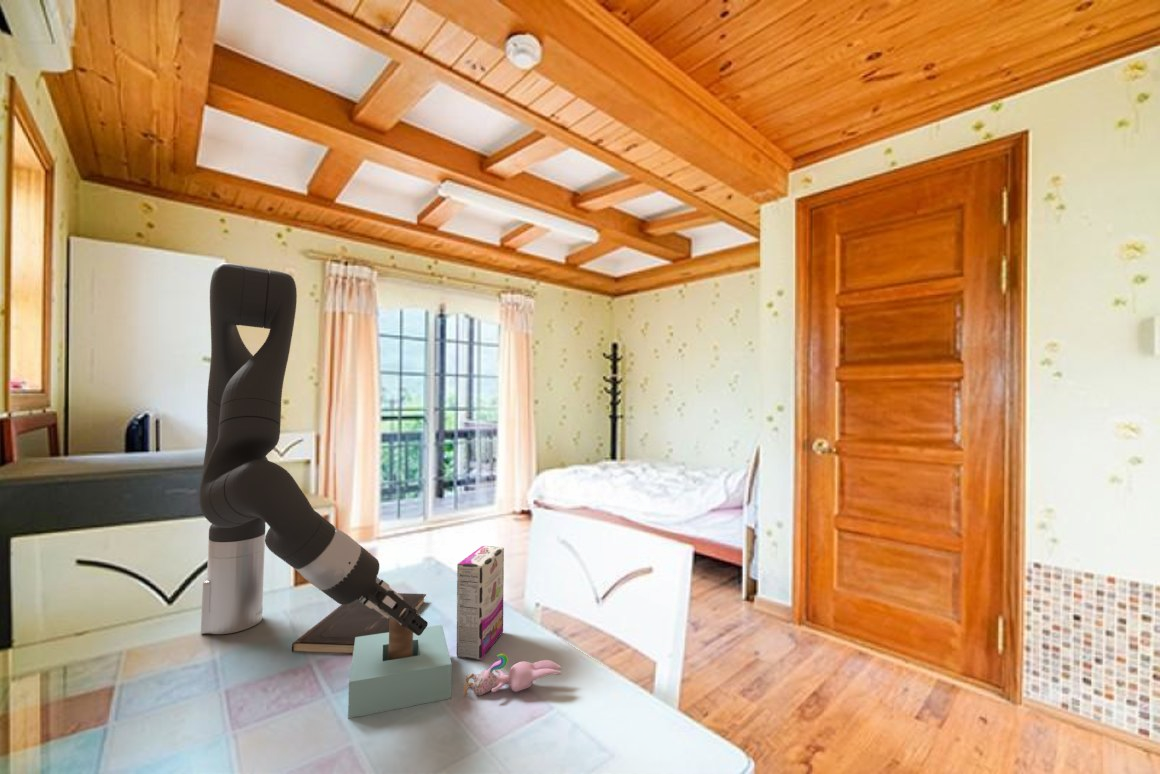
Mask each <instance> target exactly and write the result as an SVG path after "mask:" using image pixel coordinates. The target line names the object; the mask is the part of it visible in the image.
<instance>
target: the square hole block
mask: <svg viewBox="0 0 1160 774" xmlns="http://www.w3.org/2000/svg"><path fill="white" fill-rule="evenodd" d="M388 654H389V632H388V633H381V634H374V635H367V636H360V637H355V643H354V651H353V653H352V660H351V665H350V673H349V679H348V701H347V702H348V706H347V707H348V708H347V719H352V718H357V717H362V716H368V715H373V714H377V713H382V712H387V711H392V710H397V709H402V708H408V707H414V706H418V705H422V704H427V703H429V704H430V703H434V702H439V701H444V700H448V699H451V698H452V667H453V665H452V660H451V655H450V651H449V649H448V644H447V639H446V634H445V630H444V627H443V624H438V625H430V626H427V627H426V628H425V630H424V631H423V632H422V634H421V635H419V636H418V635H416V634H415V633H413V657H406V658H400V659H394V660H388Z"/></svg>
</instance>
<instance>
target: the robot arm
mask: <svg viewBox="0 0 1160 774" xmlns="http://www.w3.org/2000/svg"><path fill="white" fill-rule="evenodd" d="M297 297H298V295H297V284H296V281H295V279H294V277H293V276H291V275H290V274H288V273H285V272H283V271H282V272H281V271H278V270H273V269H268V268H262V267H257V266H252V265H245V264H238V263H230V262H222V263H220V264H217V265H216V267H214V270H213V272H212V275H211V278H210V286H209V314H210V315H209V317H210V320H209V321H210V346H211V348H210V349H211V350H210V352H211V353H210V365H209V375H208V386H207V400H206V422H207V423H206V426H207V427H206V445H205V451H204V458H203V464H202V471H201V472H202V473H201V483H200V486H199V493H198V495H199V496H198V501H199V506H200V509H201V512H202V514H203V516H204V518H205V519H206V520H207V521H208V522H209V523H210V525H209V526H210V527H209V529H208V544H207V547H208V548H207V549H208V550H207V569H206V571H207V573H206V579H205V580H204V581H203V583H202V592H201V593H202V597H201V598H202V599H201V619H200V620H201V621H200V634H204V635H205V634H210V635H228V634H233V633H237V632H238V633H239V632H241V631H245V630H248V629H250V628H254V626H256V625H258V624H259V623H261V621H262V620H263V610H264V609H263V602H264V600H263V599H264V580H265V579H264V575H265V573H264V572H265V571H264V570H265V550H266V549H265V548H267V549H268V550H269V551H270V552H271V553H273V555H275V556H277V557H278V558H279V559H281V560H282V561H283V562H285V563H286V564H287V565H289V566H290V567H291V568H293V569H294V570H295V571H297V573H298V574H299V575H301V577H302V578H303V579H304V580H306V581H308V583H310V584H311V585H312V586H314V587H315V588H317V589H318V590H319V591H321V592H322V593H323V594H325V595H326V596H328V597H329V598H331V600H333V601H334V602H336V603H338V604H339V605H346V604H350V603H352V602H354V601H356V600H359V601H360V602H362V603H363V604H365V605H366V606H367V607H369V608H370V609H375V610H376V611H377V612H379V613H380V614H382V615H383V616H384V617H386V618H391V617H392V618H394V619H395V620H396V621H398V622H399V624H400V625H402V626H403V627H404V626H405V627H407V628H408V629H410V630H411V631H412V632H413V633H415V634H416V635H418V636H419V635H421V634H422V632H423V631H424V630H425V628H426V627H428V624H429V623H428V621H427V620H426V619H424V618H423V617H422V616H421V615H419V614H418V610H417V611H416V609H415V608H412V607H411V606H410V605H408V604H407V603H406V602H404V601H403V597H402V596H401V595H399V594H398V593H399V592H396V591H395V590H394V589H393V588H391V587H390V584H389V583H388V582H387V581H385V580H384V579H380V578H379V577H378V575H379V572H380V562H379V559H377V558H376V557H375V556H374V555H373V554H371V553H370V552H369V551H368V550H367V549H365V548H364V547H363V546H362V545H360V544H359V543H358V542H357V541H356V540H355V539H353V538H352V537H351V536H350V535H349V534H347V533H346V532H344V531H342V530H340V529H339V528H337V527H336V526H335V525H333V523H331V522H330V521H329V520H328V519H327V518H325V517H324V516H322V515H321V514H320V513H319V512H317V511H316V510H314V507H313V506H312V504H311V503H310V501H309V499H308V498H307V496H306V494H304V492H303V491H302V489H301V487H300V486H299V485H298V483H297V481H296V480H295V478H294V477H293V476H292V474H291V473H290V472H289V471H288V470H287V469H285V468H284V467H282V466H281V465H279V464H277V463H276V462H273V461H270V460H268V457H267V456H268V454H269V453H271V451H273V450H274V449H275V448H276V446H277V445H278V443H279V442H280V435H281V422H282V421H281V419H282V418H281V417H282V395H283V387H284V380H285V374H286V369H287V365H288V362H289V357H290V351H291V344H292V339H293V338H292V337H293V332H294V326H295V319H296V311H297ZM238 326H243V327H251V328H260V329H263V328H264V329H266V330H267V329H268V330H269V332H268V335H267V337H266V339H265V341H264V342H263V344H262V345H261V346H260V348H259V349H258V350H257V351H256V352H255V354H254V355H253V354H252V353H251V351H250V350H249V349H248V347H247V346H246V344H245V342H244V340H243V339H242V338H241V335H240V333H239V330H238ZM266 525H268V527H269V529H268V530H267V532H266ZM404 608H405V609H406V610H405V611H404V613H403V614H402V615H401V617H399V615H400V614H401V612H402V611H403V610H404Z"/></svg>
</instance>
